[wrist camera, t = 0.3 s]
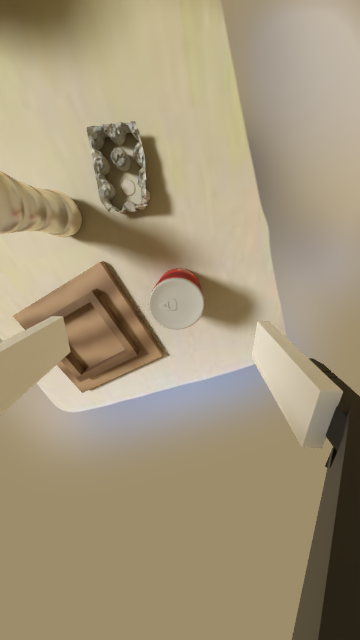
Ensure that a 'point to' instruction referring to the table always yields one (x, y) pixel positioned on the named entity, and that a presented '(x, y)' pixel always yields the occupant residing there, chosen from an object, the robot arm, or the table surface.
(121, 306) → the walnut holder
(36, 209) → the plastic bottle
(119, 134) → the egg carton
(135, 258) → the table surface
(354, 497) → the robot arm
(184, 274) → the canned food
